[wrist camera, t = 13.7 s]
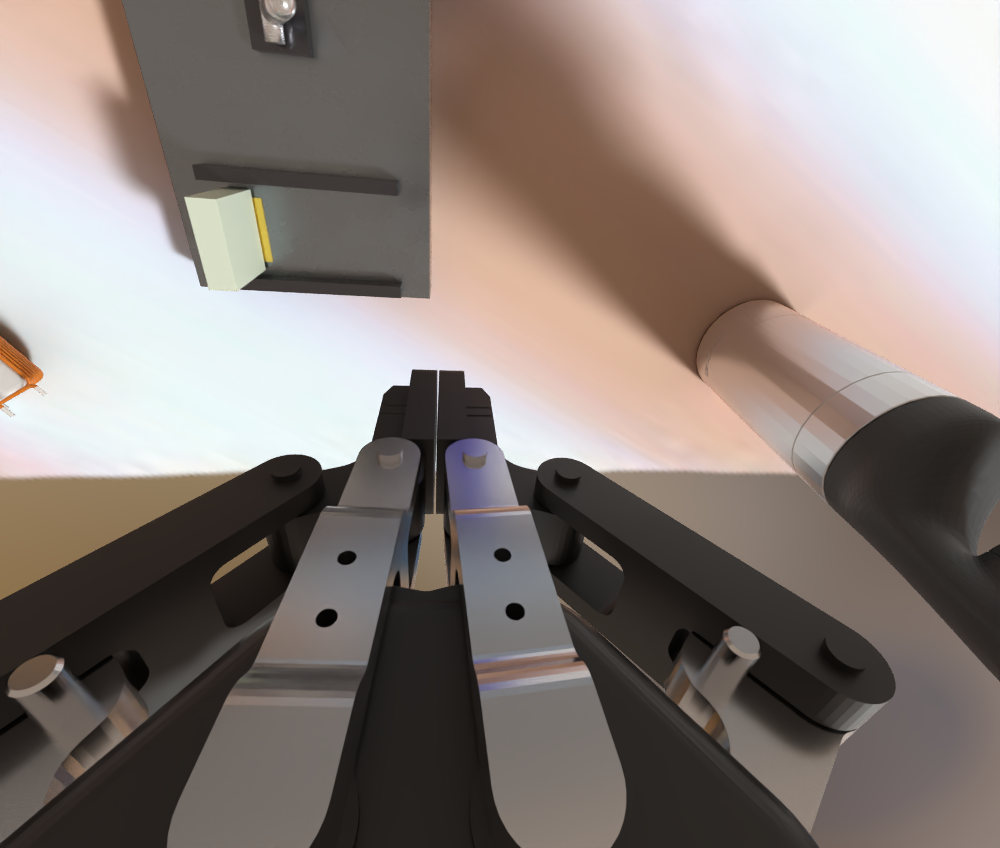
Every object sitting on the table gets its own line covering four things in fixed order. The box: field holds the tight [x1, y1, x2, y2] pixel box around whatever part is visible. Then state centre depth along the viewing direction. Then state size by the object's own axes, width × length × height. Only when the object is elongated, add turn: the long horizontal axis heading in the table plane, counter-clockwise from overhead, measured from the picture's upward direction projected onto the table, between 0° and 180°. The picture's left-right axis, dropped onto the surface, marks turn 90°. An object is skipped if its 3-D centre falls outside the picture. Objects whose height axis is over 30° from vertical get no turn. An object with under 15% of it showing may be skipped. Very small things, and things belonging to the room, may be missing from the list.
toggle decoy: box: [259, 0, 296, 45], centre depth 22 cm, size 1×2×5 cm, turn 175°
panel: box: [122, 0, 431, 299], centre depth 25 cm, size 16×30×6 cm, turn 175°
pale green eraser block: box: [184, 187, 266, 291], centre depth 28 cm, size 2×5×5 cm, turn 175°
